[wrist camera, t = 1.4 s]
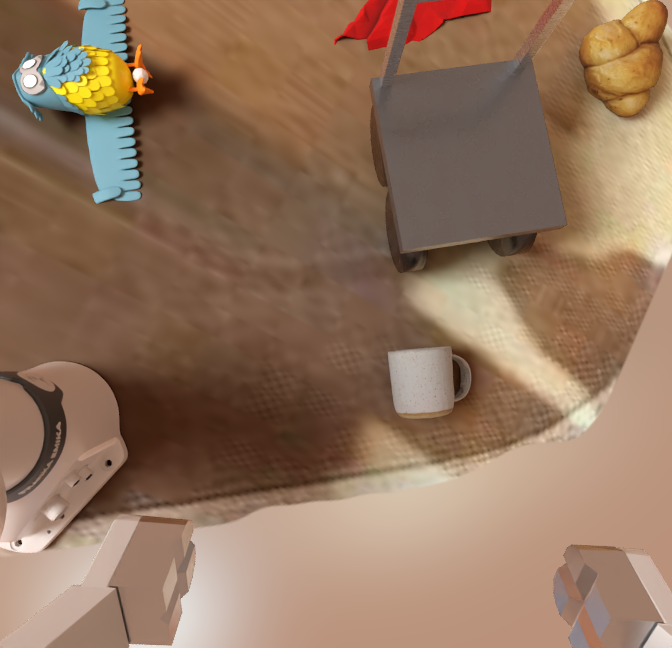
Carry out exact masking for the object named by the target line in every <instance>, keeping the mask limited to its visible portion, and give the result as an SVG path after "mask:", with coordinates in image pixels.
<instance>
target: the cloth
mask: <svg viewBox="0 0 672 648" xmlns="http://www.w3.org/2000/svg"><path fill="white" fill-rule="evenodd" d="M397 4H398V0H369V1H368V2H367V3H366V4H365V5H364V7H363V8H362V9H361V10H360V12H359V14H358V16H357V17H356V19H355V21H354V22H351V23H350V24H349V25H348V26H347V28H346V30H345V31H344V33H343V35H340V36H339V37H337V38H336V39H335V42H334V44H336V42H337V41H338V40H339V38H341V37H344V36H347V37H351V38H354V39H367V44H368V50H374V49H378V48H382V47H387V44H388V40H389V36H390V32H391V28H392V24H393V20H394V16H395V12H396V8H397ZM482 12H491V0H440V1H431V2H423V3H417V6H416V9H415V12H414V15H413V19H412V22H411V25H410V29H409V32H408V35H407V39H406V42H405V44H408V43H409V42H410V41H420V40H423V39H424V38H426V37H427V36H429V35H430V34H431V33H433V32H434V31H435V30H436V29H437V28H438V27H439V26H440V25H441V24H442V23H443V20H449V19H452V18H456V17H459V16H463V15H469V14H476V13H482Z"/></svg>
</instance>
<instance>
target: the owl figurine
mask: <svg viewBox="0 0 672 648" xmlns="http://www.w3.org/2000/svg"><path fill="white" fill-rule="evenodd" d="M123 3H124V0H80V3H79V7H78V9H80V10H81V9H86V8H90V9H89V10H87V12H86V14H85V17H84V22H83V34H82V46H77V45H73V46H72V45H71V46H69V45H67V44H68V41H65V42H64V43H63V44H62V46H61V47H60V48H59V47H58V48H57V49H55V50H54V51H53V52H52V54H48V55H44V56H43V55H39V56H37V57H35V56H34V55H31V54H30V53H29V52H27V54H26V56H25V58H24V59H23V61H22V63H21V64H20V66H19V68H18V69H17V70H16V71H15V72H14V73H13V75H12V76H13V81H14V84H15V87H16V89H17V92H18V94H19V96H20V98H21V100H22V101H23V102H24V103H25V104H26V105H27V106H28V107H29V108H30V110H31V112H32V113H35V116H36V118H37V119H39V120H40V121H42V120H43V116H42V114H41V113H40V112H39V111H38V110H37V109H35V108H34V106H35V107H40V108H46V109H53V110H61V111H70V112H75V113H78V114H81V115H84V116H85V120H86V130H87V139H88V146H89V151H90V158H91V164H92V168H93V172H94V176H95V180H96V183H97V186H98V188H99V190H100V191H98V192H95V193H93V198H94V200H95V202H96V203H97V204H98V203H101V202H104V201H107V200H110V199H115V200H121V201H134V200H138V199H140V197H141V193H140V192H138V191H131V192H125V191H130V190H136V189H139V188H140V187H141V183H140V182H139V181H136V180H133V181H126V180H132V179H136V178H138V177H139V171H138V170H126V169H130V168H134V167H136V166H137V165H138V161H137V160H136V159H125V158H130V157H134V156H136V154H137V151H136V150H135V149H134V148H128V149H122V148H127V147H131V146H134V145H135V143H136V141H135V139H134V138H122V137H127V136H131V135H133V134H134V132H135V130H134V129H133V128H132V127H125V126H129V125H131V124H133V118H132V117H120V116H125V115H129V114H131V113H132V108H131V107H130V106H126V105H127V104H129V103H130V102H131V98H132V96H133V92H136V91H138V94H139V95H143V94H150V93H154V91H153V90H151V89H149V88H147V87H145V86H144V84H145V83H147V81H148V77H150V78H153V77H152V76H151V75H150V73H149V72H148V71H147V70H146V68H145V66H144V65H143V63H142V56H141V54H142V51H141V50H142V44H141V45H139V46H138V48H137V51H136V56H135V63H126V62H124V61H126V60H127V59H128V55H127V54H126V53H118V52H122V51H125V50H126V49H127V44H126V43H118V42H122V41H125V40H126V39H127V35H126V34H124V33H119V32H123V31H125V30H126V25H125V24H117V23H121V22H124V21H125V20H126V17H125V16H124V15H119V14H123V13H124V12H125V11H126V8H125V7H124V6H115V5H121V4H123ZM115 33H117V34H115ZM114 43H115V44H114ZM66 45H67V46H66ZM58 49H59V50H58ZM57 50H58V51H57ZM56 51H57V52H56ZM55 52H56V53H55ZM129 67H135V68H136V69H135V70H134V71H133V73H132V74H133V78H132V74H131V71H130V69H129ZM133 79H134V80H135V81H136V82H137V87H134V84H133ZM122 105H123V106H122ZM120 127H122V128H120ZM121 159H122V160H121Z"/></svg>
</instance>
